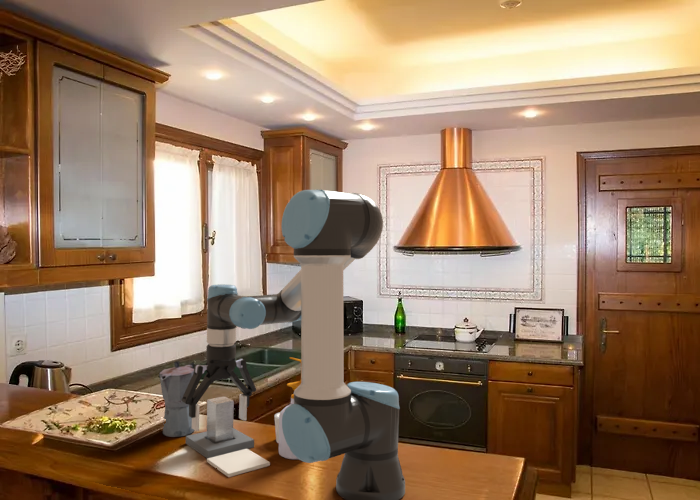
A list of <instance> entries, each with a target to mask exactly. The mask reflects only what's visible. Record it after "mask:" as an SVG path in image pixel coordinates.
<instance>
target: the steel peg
mask: <svg viewBox="0 0 700 500" xmlns="http://www.w3.org/2000/svg"><path fill="white" fill-rule="evenodd" d="M206 403H207V404H206V431H207V439H208V440H209V441H211V442H212V443H214V444H216V443H220V442H224V441H229V440H233V428H234V404H235V403H234V400H233V399H231V398H229V397H227V396H225V395H224V396H218V397H215V398H208V399H207V401H206Z"/></svg>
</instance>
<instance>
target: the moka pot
mask: <svg viewBox="0 0 700 500" xmlns="http://www.w3.org/2000/svg"><path fill="white" fill-rule="evenodd" d="M173 364H174V366H173V367H169V368H165V369H163V370H162V371H160V372H159V374H158V376H159V382H160V388H161V394H162V395H161V396H162V399H163V400H164V406H165V407H164V417H163V420H164V419H166V423H165V424H164V423H163V425H164V427H163V428H162V434H163V436H166V437H171V438H178V437H180V438H181V437H184V436H185V437H186V436H188V435H192V433H194V432H195V430H194V429H192V418H191V417H189V404H185V403H184V402H182V397H183V395H184V393H185V391H186V389H187V387H188V384H189V382H190V380H191V378H192V376H193V374H194V367H195V365H196V364H195V363H194V362H191V363H190V364H186V365H184V366H180V361H178V360H176V361H174V362H173Z"/></svg>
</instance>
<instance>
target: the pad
mask: <svg viewBox="0 0 700 500" xmlns="http://www.w3.org/2000/svg"><path fill="white" fill-rule="evenodd" d="M206 462H207V463H208V464H209V465H211V467H214V468H215V469H216V468H217V469H216V470H218V471H219V472H221V473H222V474H223V475H225V476H226V477H228V478H232V477H234V476H237V475H238V476H239V475H241V474H244V473H248V472H251V471H252V472H253V471H256V470H259V469H263V468H267V467H269V466H270V465H271V462H270V461H268V460H267V459H265V458H264V457H263V456H260V455H259V454H257V453H255V452H253V451H252V450H251V449H250V448H249V449H243V450H239V451H235V452H231V453H227V454H223V455H219V456H215V457H212V458H208V459H207V458H206Z"/></svg>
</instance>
